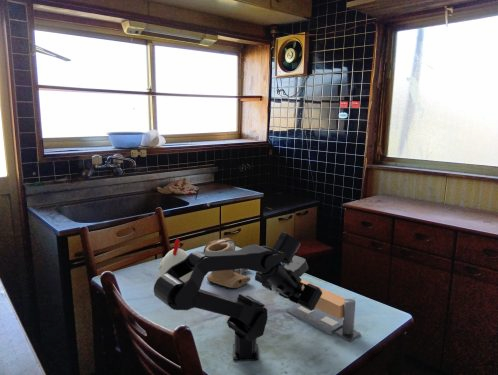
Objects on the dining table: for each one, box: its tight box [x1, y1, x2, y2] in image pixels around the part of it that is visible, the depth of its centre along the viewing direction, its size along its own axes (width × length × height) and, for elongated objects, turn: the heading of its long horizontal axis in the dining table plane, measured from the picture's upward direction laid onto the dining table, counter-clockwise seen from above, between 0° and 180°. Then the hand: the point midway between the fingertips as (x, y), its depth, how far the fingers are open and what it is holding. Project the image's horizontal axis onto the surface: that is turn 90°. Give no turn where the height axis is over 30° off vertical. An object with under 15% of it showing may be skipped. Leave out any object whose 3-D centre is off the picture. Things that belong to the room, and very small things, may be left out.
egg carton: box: [233, 269, 249, 275], centre depth 151 cm, size 11×8×4 cm
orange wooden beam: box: [301, 279, 356, 334], centre depth 114 cm, size 24×5×9 cm, turn 41°
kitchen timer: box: [157, 238, 193, 282], centre depth 141 cm, size 14×14×15 cm
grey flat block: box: [334, 328, 361, 343], centre depth 107 cm, size 5×5×1 cm
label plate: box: [285, 303, 343, 336], centre depth 116 cm, size 17×10×1 cm, turn 41°
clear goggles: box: [203, 237, 236, 252], centre depth 161 cm, size 15×3×8 cm, turn 128°
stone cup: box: [205, 242, 251, 289], centre depth 137 cm, size 15×12×15 cm
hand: (303, 300), depth 112 cm, fingers closed
